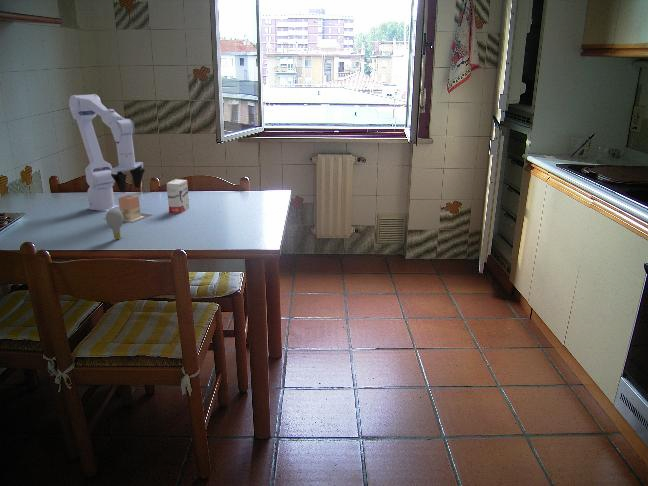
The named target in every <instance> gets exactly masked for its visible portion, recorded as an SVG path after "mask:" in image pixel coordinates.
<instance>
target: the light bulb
mask: <svg viewBox="0 0 648 486" xmlns="http://www.w3.org/2000/svg"><path fill="white" fill-rule="evenodd" d="M105 218H106V220H105V221H106V223H107V224H108V226H109V227H110V228H111V230H112V233H113V234H112V235H113V238H114V239H116V240H120V239H121V237H122V236H121V227H122V226H123V223H124V222H123V220H124V217H123V214H122V213H121V212H120V209H119V210H118V209H111V210H108V212H107V213H106V215H105Z"/></svg>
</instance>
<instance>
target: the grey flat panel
mask: <svg viewBox="0 0 648 486" xmlns="http://www.w3.org/2000/svg"><path fill="white" fill-rule="evenodd" d="M140 214H141V217H140V218H137V219H134V220H123V223H128V224H133V223H136V222H139V221H141V220H144V219H147V218H149V217H152V216H153V214H149V213H144V212H143V213H142V212H140ZM103 220H105V221H106V217H105V218H103Z"/></svg>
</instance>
